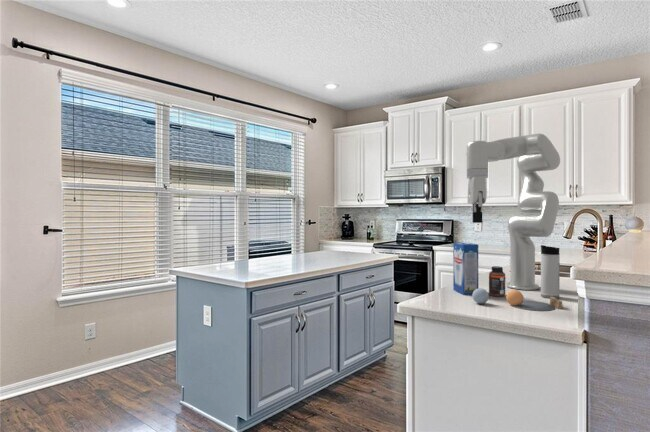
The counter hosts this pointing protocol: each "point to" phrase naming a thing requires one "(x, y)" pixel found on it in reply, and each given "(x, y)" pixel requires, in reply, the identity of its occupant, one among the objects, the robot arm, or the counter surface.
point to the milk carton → (465, 268)
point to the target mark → (535, 306)
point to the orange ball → (514, 297)
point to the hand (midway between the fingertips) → (477, 222)
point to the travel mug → (550, 271)
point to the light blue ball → (480, 295)
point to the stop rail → (556, 302)
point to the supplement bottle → (497, 282)
